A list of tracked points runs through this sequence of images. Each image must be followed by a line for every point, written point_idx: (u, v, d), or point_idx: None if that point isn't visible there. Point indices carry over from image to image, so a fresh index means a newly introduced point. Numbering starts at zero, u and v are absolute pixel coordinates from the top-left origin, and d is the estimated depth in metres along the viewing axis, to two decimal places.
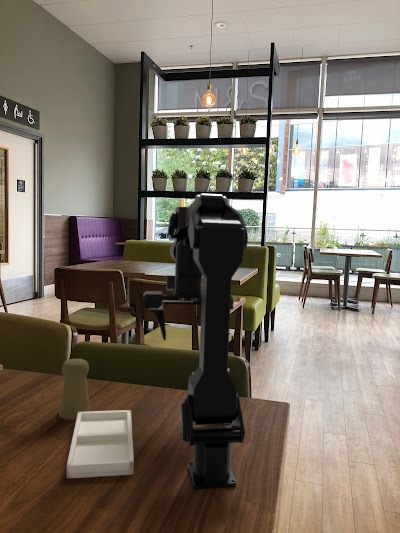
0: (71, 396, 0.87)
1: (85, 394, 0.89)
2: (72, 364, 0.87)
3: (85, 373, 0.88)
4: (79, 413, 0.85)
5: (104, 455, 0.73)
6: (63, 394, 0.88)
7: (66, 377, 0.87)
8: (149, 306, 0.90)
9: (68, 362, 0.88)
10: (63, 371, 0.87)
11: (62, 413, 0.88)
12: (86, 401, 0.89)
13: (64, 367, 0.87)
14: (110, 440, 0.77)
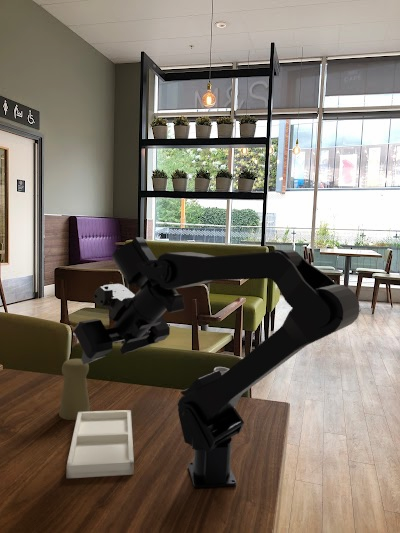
0: (71, 396, 0.87)
1: (85, 394, 0.89)
2: (72, 364, 0.87)
3: (85, 373, 0.88)
4: (79, 413, 0.85)
5: (104, 455, 0.73)
6: (63, 394, 0.88)
7: (66, 377, 0.87)
8: (95, 356, 0.73)
9: (68, 362, 0.88)
10: (63, 371, 0.87)
11: (62, 413, 0.88)
12: (86, 401, 0.89)
13: (64, 367, 0.87)
14: (110, 440, 0.77)
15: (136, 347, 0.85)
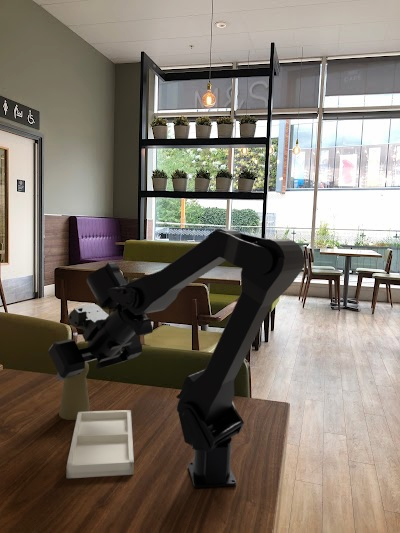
0: (71, 396, 0.87)
1: (85, 394, 0.89)
2: None
3: (85, 373, 0.88)
4: (79, 413, 0.85)
5: (104, 455, 0.73)
6: (63, 394, 0.88)
7: None
8: (68, 376, 0.77)
9: None
10: None
11: (62, 413, 0.88)
12: (86, 401, 0.89)
13: None
14: (110, 440, 0.77)
15: (110, 363, 0.90)
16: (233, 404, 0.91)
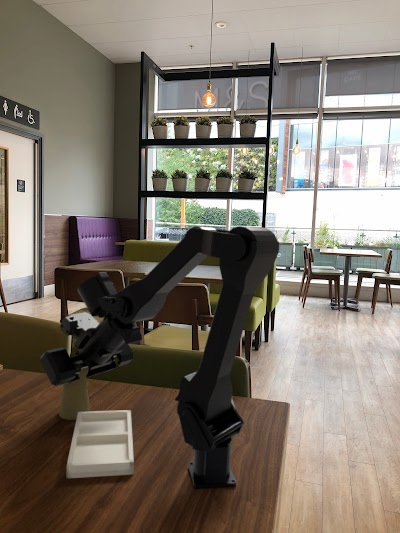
0: (71, 396, 0.87)
1: (85, 394, 0.89)
2: None
3: (85, 373, 0.88)
4: (79, 413, 0.85)
5: (104, 455, 0.73)
6: (63, 394, 0.88)
7: None
8: (60, 383, 0.79)
9: None
10: None
11: (62, 413, 0.88)
12: (86, 401, 0.89)
13: None
14: (110, 440, 0.77)
15: (94, 373, 0.90)
16: (233, 404, 0.91)
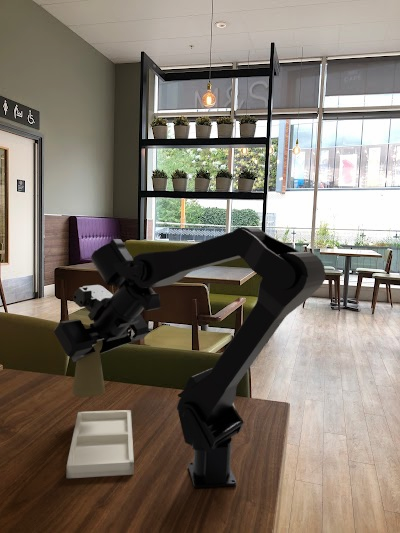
0: (85, 372, 0.83)
1: (100, 370, 0.85)
2: None
3: (99, 348, 0.84)
4: (79, 413, 0.85)
5: (104, 455, 0.73)
6: (77, 370, 0.84)
7: None
8: (76, 355, 0.75)
9: None
10: None
11: (76, 390, 0.83)
12: (101, 378, 0.85)
13: None
14: (110, 440, 0.77)
15: (109, 348, 0.86)
16: (233, 404, 0.91)
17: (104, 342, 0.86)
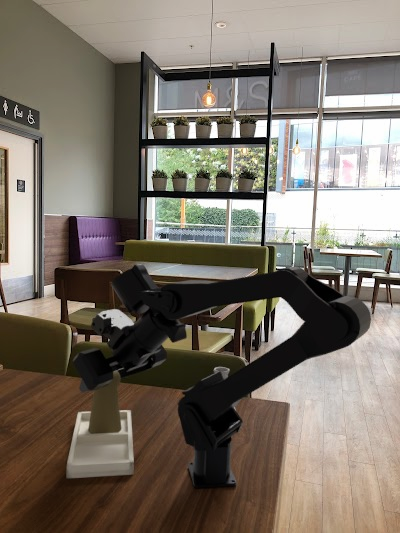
0: (103, 410, 0.79)
1: (118, 407, 0.81)
2: None
3: (117, 385, 0.80)
4: (79, 413, 0.85)
5: (104, 455, 0.73)
6: (93, 408, 0.80)
7: (97, 389, 0.79)
8: (96, 388, 0.71)
9: None
10: None
11: (93, 429, 0.80)
12: (118, 415, 0.81)
13: None
14: (110, 440, 0.77)
15: (132, 373, 0.83)
16: None
17: None
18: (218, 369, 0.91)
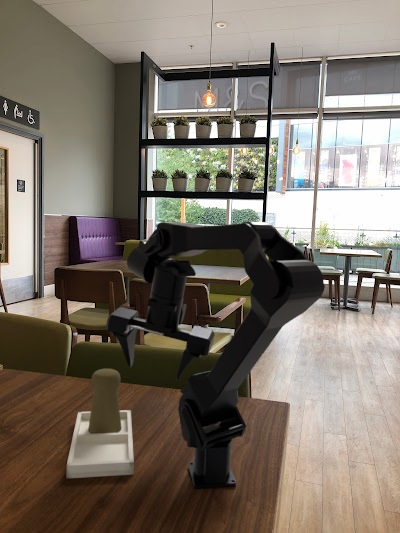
0: (103, 410, 0.79)
1: (118, 407, 0.81)
2: (103, 375, 0.79)
3: (118, 385, 0.80)
4: (79, 413, 0.85)
5: (104, 455, 0.73)
6: (93, 408, 0.80)
7: (97, 389, 0.79)
8: (111, 329, 0.78)
9: (99, 373, 0.80)
10: (94, 383, 0.79)
11: (93, 429, 0.80)
12: (118, 415, 0.81)
13: (95, 379, 0.79)
14: (110, 440, 0.77)
15: (180, 363, 0.78)
16: None
17: None
18: None
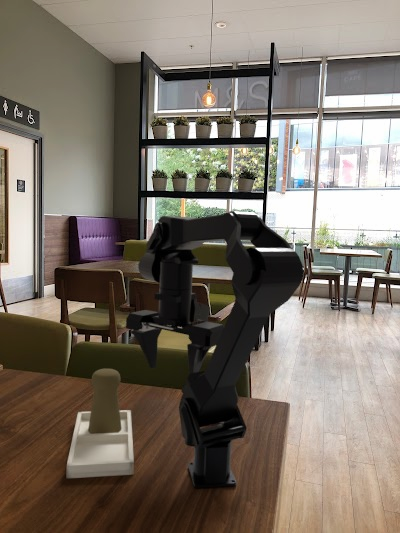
0: (103, 410, 0.79)
1: (118, 407, 0.81)
2: (103, 375, 0.79)
3: (118, 385, 0.80)
4: (79, 413, 0.85)
5: (104, 455, 0.73)
6: (93, 408, 0.80)
7: (97, 389, 0.79)
8: (129, 327, 0.81)
9: (99, 373, 0.80)
10: (94, 383, 0.79)
11: (93, 429, 0.80)
12: (118, 415, 0.81)
13: (95, 379, 0.79)
14: (110, 440, 0.77)
15: None
16: None
17: None
18: None
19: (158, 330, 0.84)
